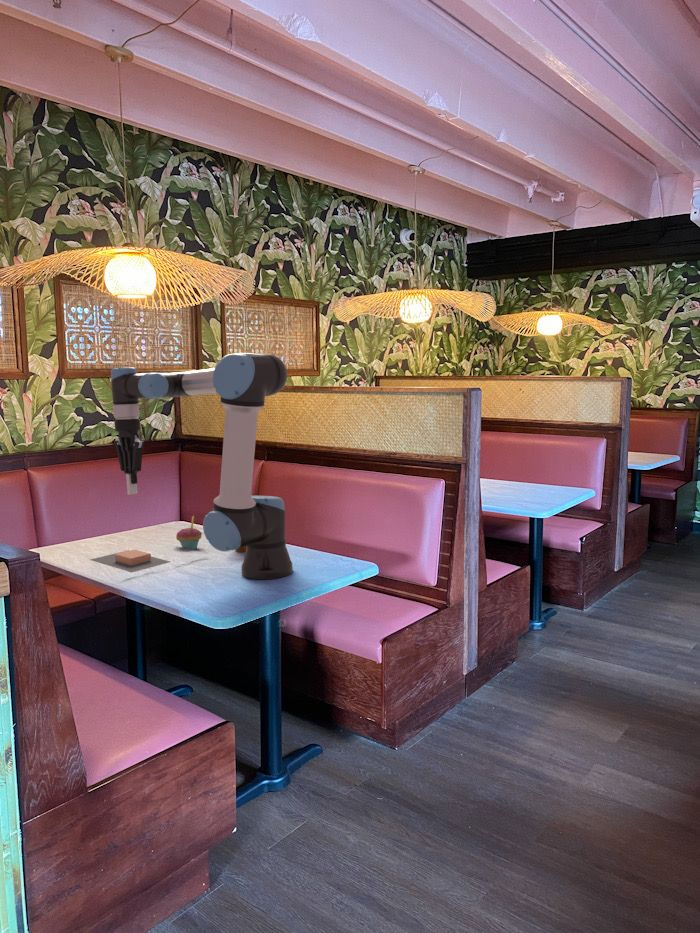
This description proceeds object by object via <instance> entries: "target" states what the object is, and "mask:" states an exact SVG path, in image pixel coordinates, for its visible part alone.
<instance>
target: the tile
mask: <svg viewBox="0 0 700 933" xmlns="http://www.w3.org/2000/svg"><path fill="white" fill-rule="evenodd" d="M125 551H126V552H124V551H121V552H122V553H119V552H117V554H115V553H114V554H115V561H116V562H118V563H122V564H125V565H129V566H135V565H139V564H143V563H146V562H150V561H151V557H152V554H151V553H149V552H147V551H146V552H145V551H142V550H138V549H131V550H129V551H128V550H125Z"/></svg>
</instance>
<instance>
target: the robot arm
mask: <svg viewBox="0 0 700 933" xmlns="http://www.w3.org/2000/svg"><path fill="white" fill-rule="evenodd" d="M110 379H111V380H110V383H111V394H112V407H113V408H112V409H113V410H112V412H113V418H115V419H114V422H113V423H114V430H115V432H116V433H117V432H118V439H116V440H113V444H114V446H115V449H116V453H117V459H118V461H119V462H118V463H119V467H120V470H121V472H124V474H125V482H126V494H127V495H129V496H130V495H131V496H132V495H136V494H139V493H138V476H137V474H138V473H139V472H142V462H143V449H144V446H145V442H144V440H140V438H139V432H138V431H140V430H141V419H140V418H139V417H140V406H139V405H140V404H139V402H140V401H139V399H149V400H153V399H155V400H156V399H160V398H163V399H164V398H179V397H182V398H183V397H184V398H187V397H192V396H202V395H213V394H217V395H218V396H219V397H220V401H219V402H220V404H221V405H222V407H223V408H224V409H225V413H224V415H225V416H224V429H223V430H224V431H223V441H222V455H221V456H222V458H221V470H220V485H219V495H218V496H216V497H215V498H214V499H213V505H212V511H209V512H208V513H207V514H206V515H204V518H203V522H202V529H203V533H204V536H205V538H206V540H207V541H208V542H209V545H211V547H212V548H214V549H215V550H217V551H220V552H229V551H236V549H238V548H240V547H243V546H246V552H244V558H243V562H242V564H241V576H243V577H244V578H248V579H252V580H272V579H273V580H274V579H280V578H283V577H287V576H289V575H291V574H292V573H293V562H292V560H291V557H290V554H289V551H288V549H287V543H286V540H287V539H286V509H285V500H283V498H281V497H279V496H272V495H252V489H253V475H254V464H255V453H256V451H255V450H256V441H257V440H256V439H257V427H258V417H259V415H258V413H259V412H260V410H262V409H263V408H264V407H265V401H266V397H270V396H275V395H276V394H278V393H279V392H280V391H282V390H283V389H284V388H285V386H286V384H287V380H288V369H287V367H286V365H285V363H284V361H283V360H282V359H281V358H279V356H276V355H275V354H272V353H271V354H270V353H251V352H236V353H230V354H226V355H224V356H223V357H222V358H221V359H219V361H217V363H216V364H215V367H213V368H207V369H197V370H189V371H187V370H186V371H179V372H155V371H154V372H151V371H149V372H141V373H138V372H137V368H136V367H131V366H129V367H128V366H127V367H126V366H125V367H124V366H123V367H113V368H112V369H110Z"/></svg>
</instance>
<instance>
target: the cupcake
mask: <svg viewBox="0 0 700 933" xmlns="http://www.w3.org/2000/svg"><path fill="white" fill-rule="evenodd" d="M194 519H195V514H194V513H193V515H192V516H191V523H190V527H188V528H181V529H180V530H179V531H177V533H176V535H175V536H176V538H175V539H176V540H177V541H179V543H180V545H181V548H183V549H186V550H191V551H194V550H196V549H197V548H198V544H199V541H200V539H201V538H202V535H203V533H202V532H201V531H200V530H199V529H197V528H195V527H194V522H195V520H194Z"/></svg>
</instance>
